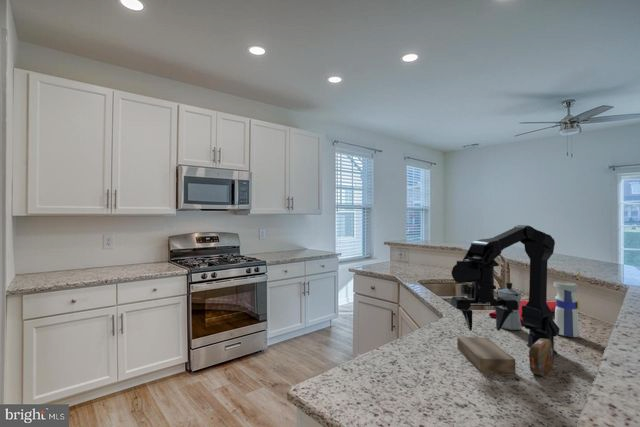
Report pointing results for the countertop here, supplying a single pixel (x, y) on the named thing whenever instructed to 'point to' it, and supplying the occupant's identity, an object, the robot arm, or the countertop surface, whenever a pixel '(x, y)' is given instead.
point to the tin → (541, 356)
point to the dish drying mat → (550, 304)
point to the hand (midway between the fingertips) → (484, 330)
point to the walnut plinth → (486, 355)
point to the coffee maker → (513, 318)
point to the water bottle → (567, 308)
